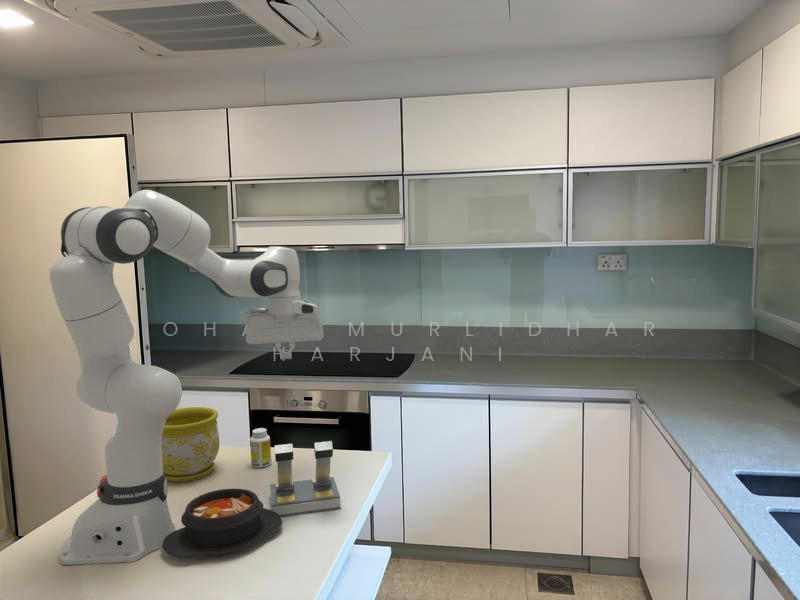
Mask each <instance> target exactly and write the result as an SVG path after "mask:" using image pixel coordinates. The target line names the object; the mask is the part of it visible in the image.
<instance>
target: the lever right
mask: <svg viewBox="0 0 800 600" xmlns="http://www.w3.org/2000/svg"><path fill="white" fill-rule="evenodd" d="M313 446H314V448H313V449H314V458H315V478H316V482H313V488H319V487H327V486H332V482H331V480H330V477H331V458H332V457H334V455H333V454H334V448H333V441H332V440H329V441H321V442H320V441H319V442H314V445H313Z"/></svg>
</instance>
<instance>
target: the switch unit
mask: <svg viewBox="0 0 800 600" xmlns="http://www.w3.org/2000/svg"><path fill="white" fill-rule="evenodd" d="M330 480H331V482H332V486H327V487H319V488H313V482H316V477H315V478H311V479H304V480H296V481H292V485H294V489H295V491H287V492H279V493H276V487H278V482H277V483H272V484H269V490H270V491H269V492H270V506H271V509H270V510H271V511H274V512H276V513H277V514H278V515H279V516H280V517H286V516H293V515H294V516H295V515H301V514H308V513H317V512H323V511H331V510H338V509H341V496H340V492H339V488H338V487H337V483H336V480H335V477H334V476H330Z"/></svg>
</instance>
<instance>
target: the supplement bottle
mask: <svg viewBox="0 0 800 600" xmlns="http://www.w3.org/2000/svg"><path fill="white" fill-rule="evenodd" d="M267 431H268V430H267V428H264V427H259V428H254V429H253V430H252V432H251V433H252V436H251V437H250V438H249V446H250V459H251V460H250V461H251V462H250V463H251V466H252V467H253V468H257V469H262V468H266V467H268V466H270V465H271V464H272V451H271V450H272V449H271V437H270V435H269V434H268V432H267Z"/></svg>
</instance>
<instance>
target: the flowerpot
mask: <svg viewBox="0 0 800 600" xmlns="http://www.w3.org/2000/svg"><path fill="white" fill-rule="evenodd" d="M218 417H219V413H218V410H216V409H214V408H212V407H211V408H210V407H204V406H190V407H182V408H180V407H179V408H176V409H175V411H174V412H173V413H171V414H170V415H169V416H168V418H167V420H166V423H165V426H164V429H163V434H162V460H163V470H164V471H165V474H166V478H167V482H172V483H185V482H192V481H196V480H199V479H202V478H204V477H206V476H208V475H209V474H210V473H211V471H212V470H213V469H214V467H215V463H214V461H215V460H216V457H217V456H218V453H219V450H220V434H219V428H218V420H217V419H218ZM207 474H208V475H207Z"/></svg>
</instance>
